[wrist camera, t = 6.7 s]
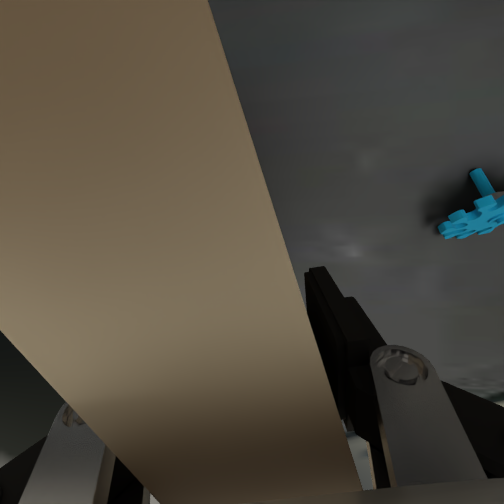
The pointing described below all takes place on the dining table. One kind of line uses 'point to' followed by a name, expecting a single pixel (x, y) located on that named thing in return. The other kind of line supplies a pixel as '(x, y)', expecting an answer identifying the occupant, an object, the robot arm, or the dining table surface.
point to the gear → (477, 211)
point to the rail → (156, 255)
